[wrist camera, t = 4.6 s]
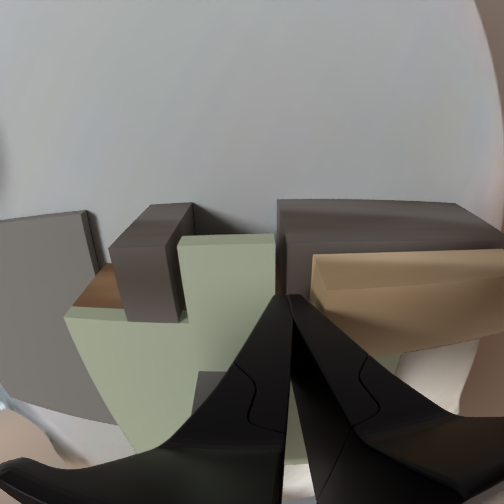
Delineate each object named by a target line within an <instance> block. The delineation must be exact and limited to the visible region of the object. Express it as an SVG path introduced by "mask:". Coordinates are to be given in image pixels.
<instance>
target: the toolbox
mask: <svg viewBox="0 0 504 504" xmlns="http://www.w3.org/2000/svg"><path fill="white" fill-rule="evenodd" d="M182 236H195V227H194V217H193V206H192V202H191V203H172V204H156V205H150V206H149V207H148V208H147V209H146V210H145V211H144V212H143V213H142V214H141V215H140V216H139V217H138V218H137V219H136V220H135V221H134V222H133V223H132V224H131V225H130V226H129V227H128V228H127V229H126V230H125V231H124V232H123V233H122V234H121V235H120V236H119V237H118V238H117V240H116V241H115V242H114V243H113V244H112V245H111V246H110V247H109V248H108V249H109V253H110V258H111V262H112V263H107V264H105V265H104V266H103V268H102V269H101V270H100V271H99V272H98V274H97V275H96V276H95V277H94V278H93V280H92V281H91V282H90V283H89V285H88V286H87V287H86V288H85V290H84V291H83V292H82V293H81V295H80V296H79V297H78V299H77V300H76V301H75V302H74V304H73V305H72V306H75V307H92V308H112V309H124V311H125V314H126V317H127V321H128V322H148V323H179V320H180V317H181V314H182V310H187V308H186V302H185V296H184V290H183V284H182V278H181V271H180V264H179V258H178V251H177V245H178V243H179V241H180V239H181V237H182ZM480 249H504V234H503V233H502V232H500V231H499V230H497V229H496V228H494V227H493V226H491V225H490V224H488V223H487V222H485V221H483V220H482V219H480V218H479V217H477V216H475V215H474V214H472V213H471V212H469V211H467V210H466V209H464V208H462V207H461V206H459V205H457V204H455V203H440V202H420V201H395V200H352V199H282V200H277V260H275V295H282V294H286V295H288V294H301V295H302V296H303V297H304V298H306V299H307V300H308V301H309V302H310V289H311V276H312V262H313V254H345V253H381V252H415V251H448V250H480Z"/></svg>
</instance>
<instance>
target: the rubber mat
mask: <svg viewBox="0 0 504 504" xmlns="http://www.w3.org/2000/svg"><path fill="white" fill-rule="evenodd" d="M99 271H100V269H99V265H98V261H97V257H96V253H95V249H94V245H93V240H92V236H91V231H90V227H89V222H88V217H87V212H86V210H83V211H73V212H64V213H55V214H46V215H38V216H30V217H22V218H14V219H7V220H0V383H1V384H2V386H3V387H4V388H5V390H6V391H7V393H8V394H9V396H10V397H12V398H15V399H18V400H21V401H24V402H27V403H30V404H33V405H36V406H39V407H43V408H46V409H49V410H53V411H57V412H60V413H64V414H68V415H72V416H76V417H80V418H84V419H89V420H93V421H98V422H103V423H108V424H114V425H118V424H117V423H116V421H115V419H114V418H113V416H112V414H111V413H110V411H109V409H108V408H107V406H106V404H105V402H104V401H103V399H102V397H101V395H100V393H99V392H98V390H97V388H96V386H95V384H94V382H93V380H92V378H91V376H90V375H89V373H88V371H87V369H86V367H85V365H84V362H83V360H82V358H81V356H80V354H79V352H78V350H77V348H76V345H75V343H74V341H73V339H72V336H71V334H70V332H69V329H68V327H67V325H66V322H65V320H64V316H65V314H66V313H67V312H68V310H69V309H70V308H71V306H72V305H73V304H74V302H75V301H76V300H77V299H78V297H79V296H80V295H81V293H82V292H83V291H84V290H85V288H86V287H87V286H88V285H89V283H90V282H91V281H92V280H93V278H94V277H95V276H96V275H97V274H98V272H99Z"/></svg>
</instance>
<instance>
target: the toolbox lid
mask: <svg viewBox="0 0 504 504" xmlns="http://www.w3.org/2000/svg"><path fill="white" fill-rule="evenodd" d="M177 251H178V258H179V264H180V271H181V278H182V284H183V290H184V296H185V302H186V308H187V310H182V314H181V317H180V320H179V323H148V322H128V321H127V317H126V314H125V311H124V309H112V308H92V307H75V306H71V308H70V309H69V310H68V312H67V313H66V314H65V316H64V320H65V322H66V325H67V327H68V329H69V332H70V334H71V336H72V339H73V341H74V343H75V345H76V348H77V350H78V352H79V354H80V356H81V358H82V360H83V362H84V365H85V367H86V369H87V371H88V373H89V375H90V376H91V378H92V380H93V382H94V384H95V386H96V388H97V390H98V392H99V393H100V395H101V397H102V399H103V401H104V402H105V404H106V406H107V408H108V409H109V411H110V413H111V414H112V416H113V418H114V419H115V421H116V423H117V424H118V426H119V427H120V429H121V431H122V432H123V434H124V435H125V437H126V438H127V440H128V441H129V443H130V444H131V446H132V447H133V449H134V450H135V452H136V453H137V454H138V453H142V452H145V451H148V450H151V449H153V448H155V447H157V446H159V445H161V444H162V443H164V442H165V441H166V440H168V439H169V438H170V437H171V436H172V435H173V434H174V433H175V432H176V431H177V430H178V429H179V428H180V427H181V426H182V425H183V424H184V422H185V421H186V420H187V419H188V418H189V417H190V416H191V415H192V414H193V413H194V412H195V411H196V409H197V408H198V407H199V406H200V405H201V404H202V403H203V402H204V401H205V399H206V398H207V397H208V396H209V395H210V393H211V392H212V391H213V390H214V389H215V387H216V386H217V385H218V383H219V382H220V380H221V379H222V378H223V376H224V375H225V373H226V372H227V370H228V368H229V367H230V365H231V364H232V363H233V361H234V359H235V357H236V356H237V354H238V353H239V351H240V349H241V348H242V346H243V344H244V343H245V341H246V340H247V338H248V336H249V335H250V333H251V331H252V330H253V328H254V326H255V325H256V323H257V321H258V320H259V318H260V316H261V315H262V313H263V311H264V310H265V308H266V306H267V305H268V303H269V301H270V300H271V298H272V296H273V295H275V238H274V233H269V234H230V235H198V236H182V237H181V239H180V241H179V243H178V245H177ZM401 355H402V353H400V354H394V355H387V356H379V357H373V358H374V359H375V360H377V361H378V362H379V363H380V364H381V365H383V366H384V367H385V368H386V369H387V370H389V371H390V372H391V373H392V374H394V373H395V371H396V368H397V366H398V363H399V360H400V358H401ZM296 464H308V458H307V453H306V449H305V444H304V439H303V434H302V430H301V425H300V420H299V415H298V411H297V406H296V401H295V397H294V392H293V387H292V383H291V382H290V397H289V411H288V424H287V436H286V448H285V461H284V465H296Z"/></svg>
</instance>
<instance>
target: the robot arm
mask: <svg viewBox="0 0 504 504" xmlns="http://www.w3.org/2000/svg"><path fill="white" fill-rule="evenodd" d="M290 382H291V383H292V387H293V392H294V397H295V401H296V406H297V411H298V415H299V420H300V425H301V430H302V434H303V439H304V444H305V449H306V453H307V458H308V463H309V468H310V473H311V478H312V483H313V487H314V492H315V497H316V500H317V504H504V417H464V416H458V415H455V414H452V413H450V412H448V411H446V410H444V409H443V408H441V407H440V406H438V405H437V404H435V403H434V402H432V401H431V400H429V399H428V398H426V397H425V396H423V395H422V394H420V393H419V392H418V391H416V390H415V389H413V388H412V387H410V386H409V385H407V384H406V383H405V382H403V381H402V380H400V379H399V378H398V377H396V376H395V375H394V374H392V373H391V372H390V371H389V370H387V369H386V368H385V367H384V366H383V365H381V364H380V363H379V362H378V361H377V360H375V359H374V358H373V357H372V356H371V355H369V354H368V353H367V352H366V351H365V350H364V349H363V348H362V347H360V346H359V345H358V344H357V343H356V342H355V341H354V340H352V339H351V338H350V337H349V336H348V335H347V334H346V333H344V332H343V331H342V330H341V329H340V328H339V327H338V326H336V325H335V324H334V323H333V322H332V321H331V320H330V319H328V318H327V317H326V316H325V315H324V314H323V313H322V312H320V311H319V310H318V309H317V308H316V307H315V306H314V305H312V304H311V303H310V302H309V301H308V300H307V299H306V298H304V297H303V296H302V295H301V294H288V295H286V294H282V295H273V296H272V298H271V300H270V301H269V303H268V305H267V306H266V308H265V310H264V311H263V313H262V315H261V316H260V318H259V320H258V321H257V323H256V325H255V326H254V328H253V330H252V331H251V333H250V335H249V336H248V338H247V340H246V341H245V343H244V344H243V346H242V348H241V349H240V351H239V353H238V354H237V356H236V357H235V359H234V361H233V363H232V364H231V365H230V367H229V368H228V370H227V372H226V373H225V375H224V376H223V378H222V379H221V380H220V382H219V383H218V385H217V386H216V387H215V389H214V390H213V391H212V392H211V393H210V395H209V396H208V397H207V398H206V399H205V401H204V402H203V403H202V404H201V405H200V406H199V407H198V408H197V409H196V411H195V412H194V413H193V414H192V415H191V416H190V417H189V418H188V419H187V420H186V421H185V422H184V424H183V425H182V426H181V427H180V428H179V429H178V430H177V431H176V432H175V433H174V434H173V435H172V436H171V437H170V438H169V439H168V440H166V441H165V442H164V443H162V444H161V445H159V446H157V447H155V448H153V449H151V450H148V451H145V452H142V453H138V454H135V455H132V456H129V457H125V458H122V459H118V460H115V461H111V462H108V463H104V464H100V465H96V466H92V467H88V468H82V469H59V468H53V467H50V466H47V465H44V464H42V463H39V462H37V461H35V460H32V459H29V458H24V457H21V458H17V459H14V460H9V461H7V462H3V463H1V464H0V488H1V489H2V490H3V491H5V492H6V493H7V494H9V495H10V496H12V497H13V498H14V499H16V500H17V501H19V502H20V503H22V504H281V503H282V490H283V476H284V461H285V448H286V436H287V424H288V411H289V397H290Z"/></svg>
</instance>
